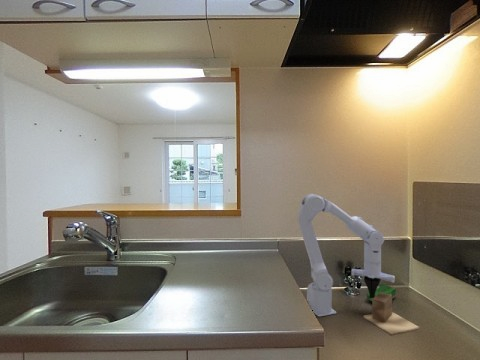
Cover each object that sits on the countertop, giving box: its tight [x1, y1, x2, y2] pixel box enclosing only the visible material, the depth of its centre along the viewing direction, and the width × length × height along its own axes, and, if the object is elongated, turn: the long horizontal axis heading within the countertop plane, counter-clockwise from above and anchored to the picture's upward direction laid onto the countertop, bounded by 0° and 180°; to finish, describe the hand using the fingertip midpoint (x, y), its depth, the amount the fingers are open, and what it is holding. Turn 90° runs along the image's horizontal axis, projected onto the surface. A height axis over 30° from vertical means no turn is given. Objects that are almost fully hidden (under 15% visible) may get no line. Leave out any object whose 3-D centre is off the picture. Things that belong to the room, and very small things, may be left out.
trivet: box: [363, 311, 420, 336], centre depth 96 cm, size 12×12×1 cm
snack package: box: [366, 283, 397, 302], centre depth 113 cm, size 7×16×5 cm, turn 129°
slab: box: [371, 292, 393, 323], centre depth 99 cm, size 4×8×7 cm, turn 135°
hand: (372, 297), depth 103 cm, fingers closed
